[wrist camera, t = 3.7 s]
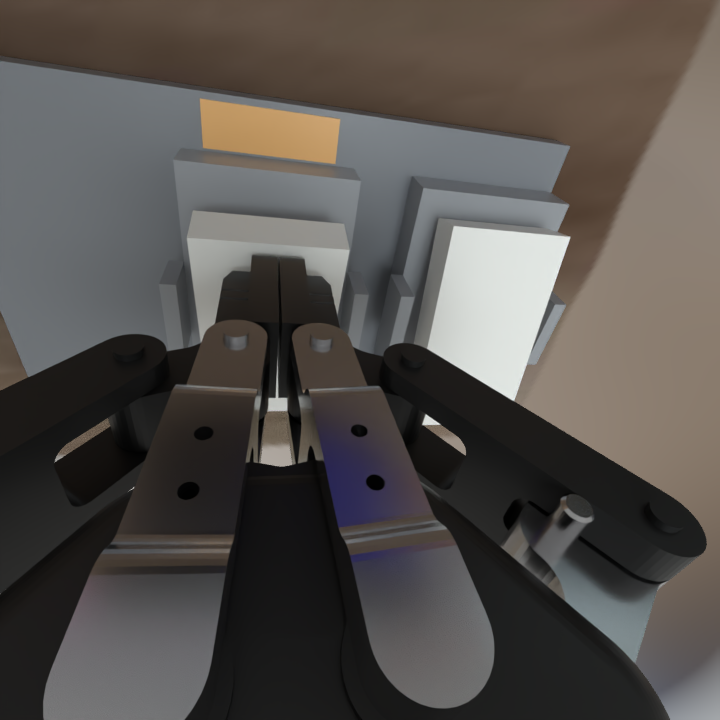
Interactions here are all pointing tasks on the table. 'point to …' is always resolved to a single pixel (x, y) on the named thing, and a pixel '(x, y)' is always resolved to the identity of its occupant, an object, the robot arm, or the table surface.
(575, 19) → the table surface
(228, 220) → the near rocker
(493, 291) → the far rocker
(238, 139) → the switch unit
